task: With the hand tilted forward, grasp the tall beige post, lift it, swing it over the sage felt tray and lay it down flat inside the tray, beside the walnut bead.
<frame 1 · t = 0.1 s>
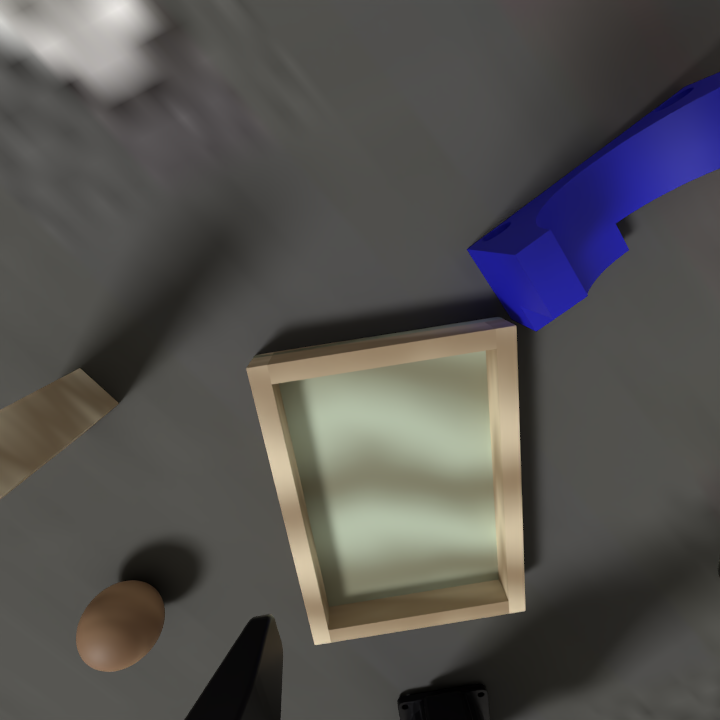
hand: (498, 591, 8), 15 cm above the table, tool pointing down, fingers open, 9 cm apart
cable clip: (587, 211, 20), on the table
tall beige post: (83, 400, 22), on the table
tray: (397, 481, 24), on the table
bead: (140, 591, 26), on the table
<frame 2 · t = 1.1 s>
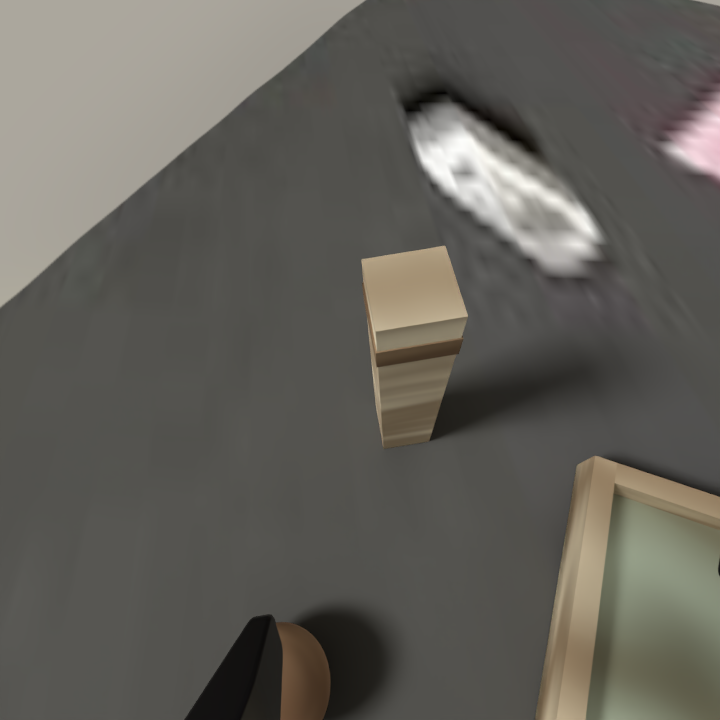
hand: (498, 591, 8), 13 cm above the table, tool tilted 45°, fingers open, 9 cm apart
tall beige post: (401, 423, 23), on the table
bead: (288, 673, 19), on the table
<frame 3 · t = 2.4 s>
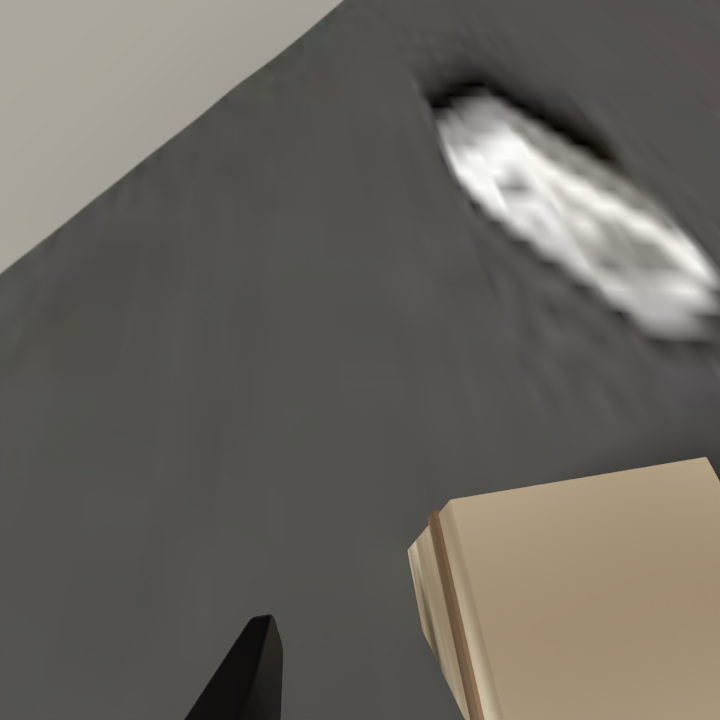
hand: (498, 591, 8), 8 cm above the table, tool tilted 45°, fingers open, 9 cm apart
tall beige post: (449, 582, 15), on the table
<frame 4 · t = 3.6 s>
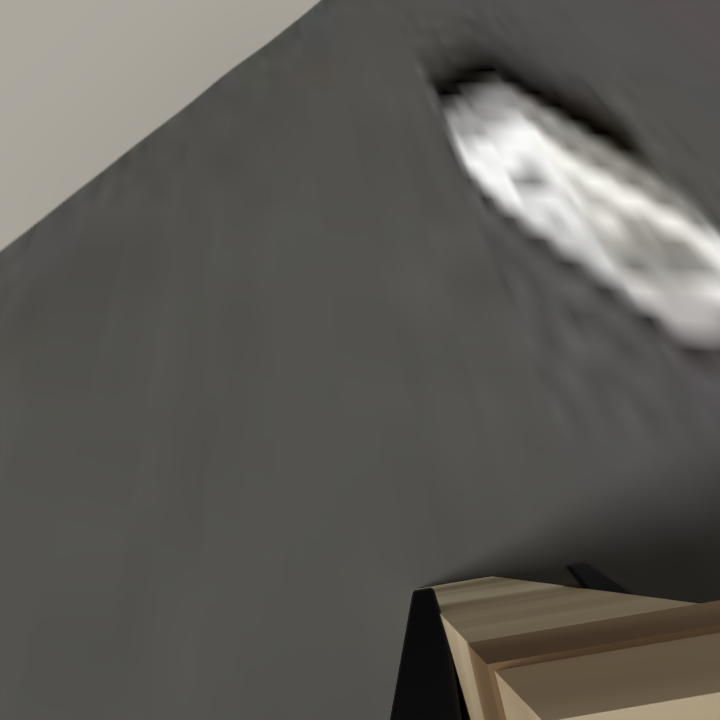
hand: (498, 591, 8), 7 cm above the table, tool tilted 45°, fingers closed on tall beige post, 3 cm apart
tall beige post: (463, 627, 13), on the table, touching gripper
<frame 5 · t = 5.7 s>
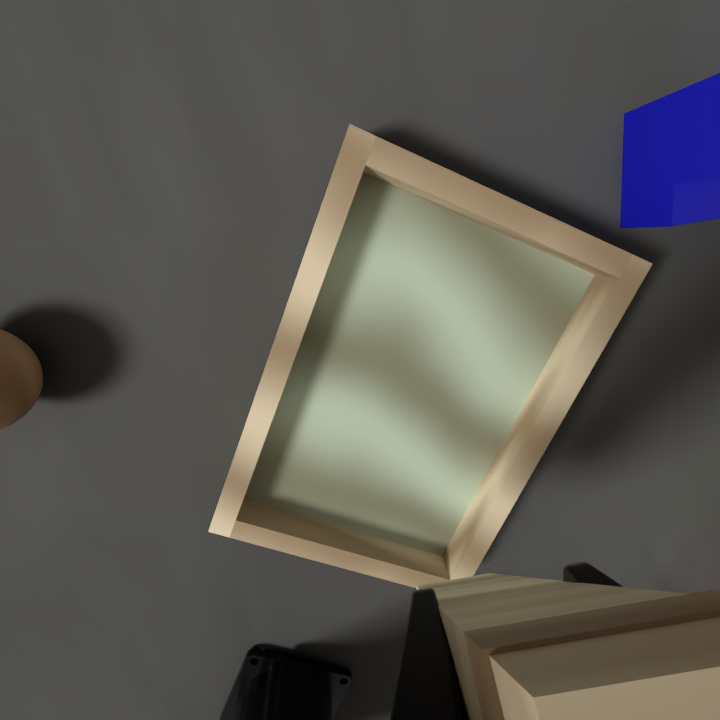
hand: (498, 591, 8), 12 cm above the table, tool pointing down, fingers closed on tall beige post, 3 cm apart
tall beige post: (463, 623, 13), point 8 cm above the table, tilted 44°, touching gripper
tray: (406, 388, 20), on the table
bead: (14, 363, 18), on the table
when the fingers open (6 cm above the table, at t = 6.7 s): tall beige post moves 1 cm and tips over, resting on tray.
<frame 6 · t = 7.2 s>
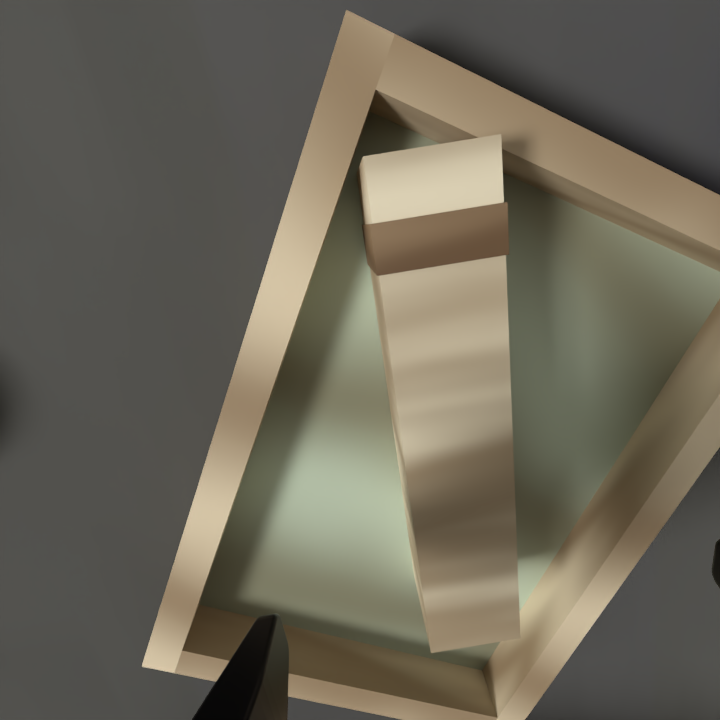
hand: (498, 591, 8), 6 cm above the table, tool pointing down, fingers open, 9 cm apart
tall beige post: (462, 605, 13), point 2 cm above the table, tilted 90°, touching tray
tray: (434, 447, 13), on the table
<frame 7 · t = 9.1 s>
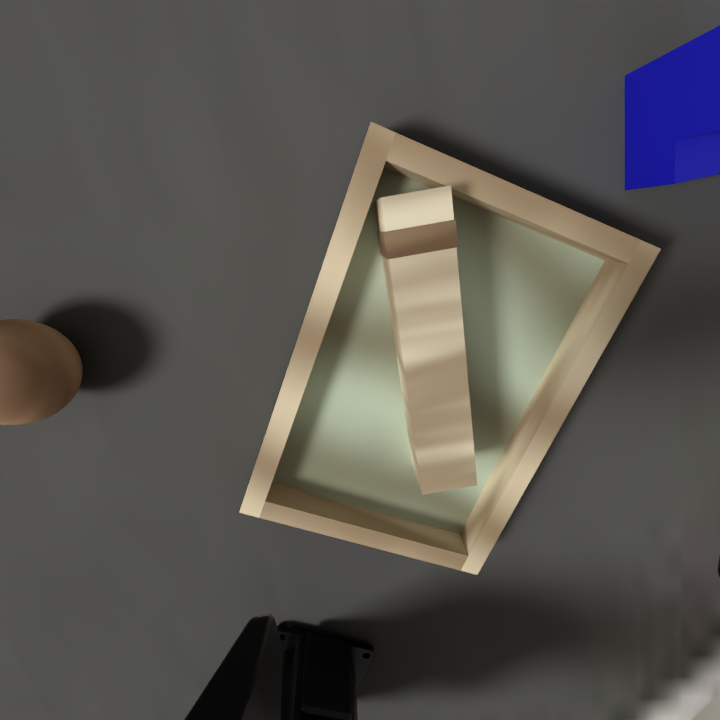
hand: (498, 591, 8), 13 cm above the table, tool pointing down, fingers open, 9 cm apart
tall beige post: (442, 473, 20), point 2 cm above the table, tilted 90°, touching tray
tray: (424, 374, 20), on the table
bead: (53, 356, 19), on the table
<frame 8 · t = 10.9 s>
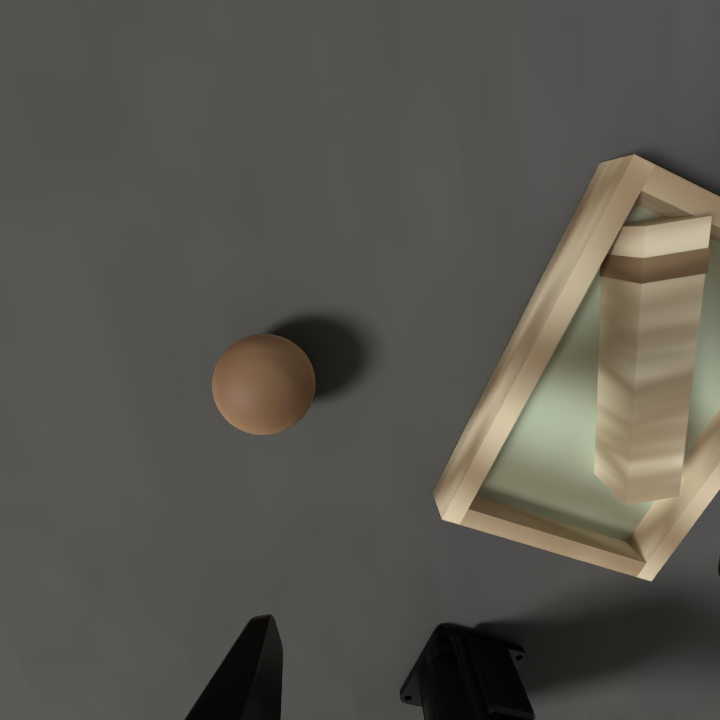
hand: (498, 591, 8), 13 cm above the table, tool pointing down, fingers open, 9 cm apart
tall beige post: (634, 484, 21), point 2 cm above the table, tilted 90°, touching tray
tray: (614, 388, 21), on the table
bead: (272, 367, 20), on the table
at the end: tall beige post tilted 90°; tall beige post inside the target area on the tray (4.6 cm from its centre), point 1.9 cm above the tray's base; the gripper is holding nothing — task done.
